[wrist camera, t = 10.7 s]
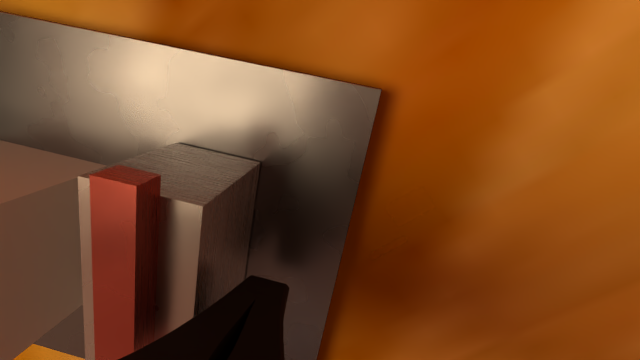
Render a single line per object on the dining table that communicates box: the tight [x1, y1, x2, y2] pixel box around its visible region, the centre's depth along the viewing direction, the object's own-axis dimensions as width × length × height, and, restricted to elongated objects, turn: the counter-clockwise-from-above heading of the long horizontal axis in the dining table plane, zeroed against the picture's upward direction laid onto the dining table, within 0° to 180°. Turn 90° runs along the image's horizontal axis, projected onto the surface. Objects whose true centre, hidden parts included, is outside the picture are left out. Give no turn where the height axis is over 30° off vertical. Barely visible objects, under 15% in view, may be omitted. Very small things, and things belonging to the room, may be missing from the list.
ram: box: [78, 143, 261, 360], centre depth 10 cm, size 9×3×5 cm, turn 170°
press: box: [0, 11, 381, 360], centre depth 11 cm, size 14×18×6 cm
